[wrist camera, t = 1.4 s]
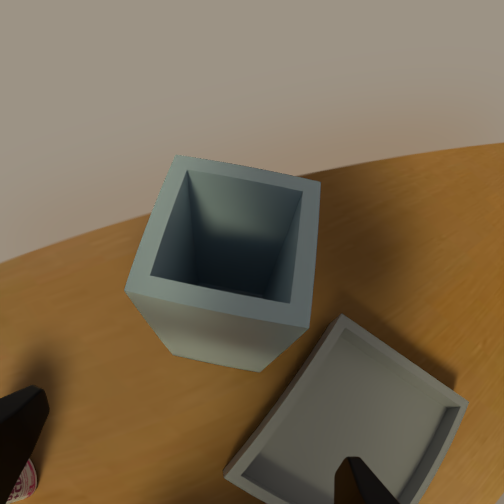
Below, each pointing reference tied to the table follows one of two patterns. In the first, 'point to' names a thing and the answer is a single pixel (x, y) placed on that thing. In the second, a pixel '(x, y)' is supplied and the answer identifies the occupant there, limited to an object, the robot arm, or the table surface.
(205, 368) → the table surface
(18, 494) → the pill bottle
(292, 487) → the shallow crate
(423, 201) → the table surface
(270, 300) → the slim crate
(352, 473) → the robot arm
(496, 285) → the table surface
